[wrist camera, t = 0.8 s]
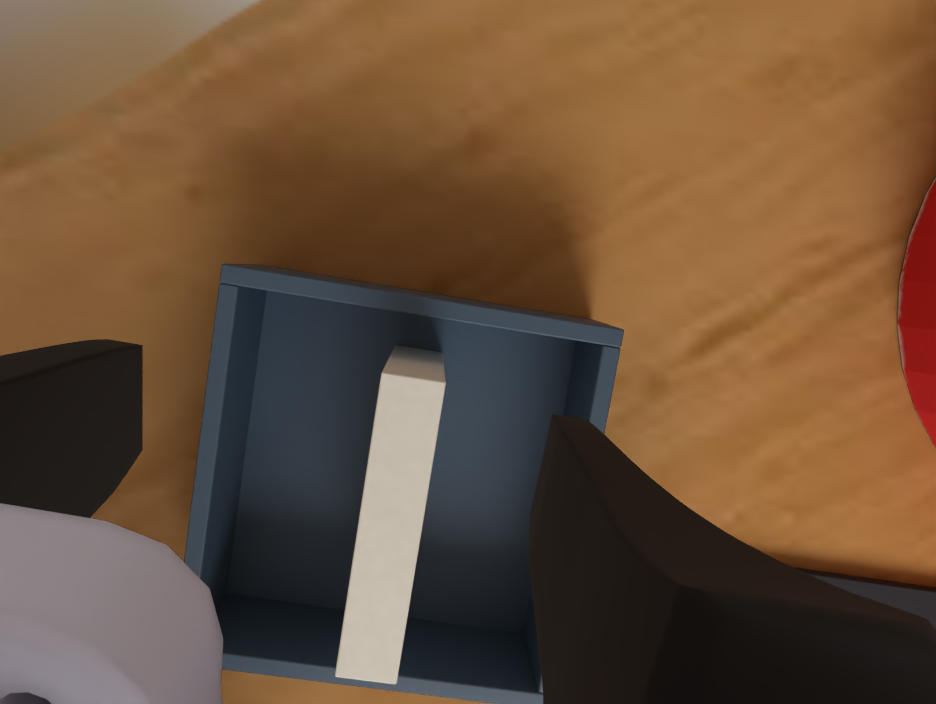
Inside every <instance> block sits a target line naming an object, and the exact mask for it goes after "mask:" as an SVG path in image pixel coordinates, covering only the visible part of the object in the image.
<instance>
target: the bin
mask: <svg viewBox="0 0 936 704" xmlns="http://www.w3.org/2000/svg"><path fill="white" fill-rule="evenodd" d="M623 333H624V330H623V329H620V328H617V327H614V326H611V325H608V324H605V323H602V322H598V321H595V320H592V319H587V318H581V317H575V316H568V315H562V314H556V313H550V312H544V311H538V310H532V309H526V308H520V307H514V306H508V305H502V304H495V303H489V302H483V301H477V300H471V299H465V298H459V297H453V296H447V295H441V294H435V293H428V292H422V291H416V290H410V289H404V288H398V287H392V286H386V285H380V284H374V283H368V282H362V281H355V280H349V279H343V278H337V277H331V276H325V275H319V274H313V273H307V272H301V271H295V270H289V269H282V268H276V267H270V266H264V265H251V264H222V266H221V274H220V284H219V290H218V298H217V306H216V314H215V322H214V330H213V337H212V345H211V353H210V361H209V369H208V377H207V385H206V393H205V401H204V408H203V416H202V424H201V432H200V440H199V448H198V456H197V464H196V471H195V479H194V487H193V495H192V503H191V511H190V519H189V527H188V534H187V542H186V550H185V558H184V563H185V564H186V565H187V566H188V567H189V568H190V569H191V570H192V571H193V572H194V573H195V574H196V575H197V576H198V577H199V578H200V579H201V580H202V581H203V582H204V583H205V584H206V585H207V586H208V588H209V589H210V592H211V595H212V599H213V603H214V606H215V610H216V614H217V617H218V621H219V625H220V629H221V632H222V636H223V654H222V669H224V670H232V671H240V672H248V673H255V674H263V675H271V676H279V677H287V678H295V679H303V680H311V681H319V682H327V683H335V684H343V685H351V686H359V687H367V688H374V689H382V690H390V691H398V692H406V693H414V694H422V695H430V696H438V697H446V698H454V699H462V700H470V701H478V702H486V703H493V704H543V687H542V673H541V663H540V655H539V647H538V638H537V630H536V621H535V613H534V605H533V596H532V587H531V578H530V569H529V529H530V512H531V508H532V503H533V499H534V494H535V490H536V485H537V481H538V476H539V472H540V467H541V463H542V458H543V454H544V449H545V445H546V440H547V435H548V431H549V426H550V422H551V417H552V414H554V415H560V416H566V417H572V418H578V419H584V420H588V421H589V422H591V423H592V424H593V425H594V426H595V427H597V428H598V429H599V430H600V431H601V432H602V433H603V434H604V433H605V427H606V422H607V417H608V412H609V406H610V401H611V396H612V391H613V385H614V380H615V375H616V370H617V364H618V359H619V354H620V348H619V347H621V344H622V339H623ZM395 345H398V346H405V347H411V348H417V349H424V350H430V351H436V352H442V354H443V362H444V371H445V381H446V386H445V392H444V398H443V404H442V410H441V416H440V422H439V428H438V434H437V441H436V447H435V453H434V459H433V465H432V471H431V477H430V483H429V489H428V495H427V502H426V508H425V514H424V520H423V526H422V532H421V538H420V544H419V550H418V556H417V562H416V569H415V575H414V581H413V587H412V593H411V599H410V605H409V611H408V617H407V623H406V630H405V636H404V642H403V648H402V654H401V660H400V666H399V672H398V678H397V683H396V684H387V683H380V682H372V681H364V680H356V679H348V678H340V677H335V671H336V664H337V658H338V651H339V645H340V638H341V632H342V625H343V619H344V612H345V606H346V599H347V593H348V586H349V580H350V573H351V567H352V560H353V554H354V547H355V541H356V534H357V528H358V521H359V515H360V508H361V502H362V495H363V489H364V482H365V476H366V469H367V463H368V456H369V450H370V443H371V437H372V430H373V424H374V417H375V411H376V404H377V398H378V391H379V385H380V378H381V373H382V371H383V369H384V367H385V365H386V363H387V361H388V359H389V357H390V355H391V353H392V351H393V349H394V347H395Z"/></svg>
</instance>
